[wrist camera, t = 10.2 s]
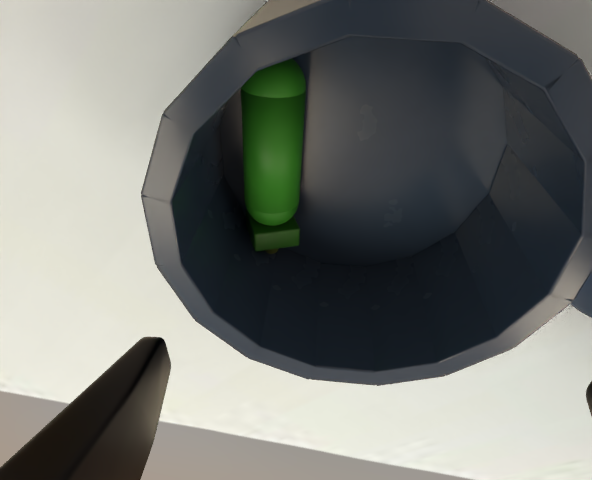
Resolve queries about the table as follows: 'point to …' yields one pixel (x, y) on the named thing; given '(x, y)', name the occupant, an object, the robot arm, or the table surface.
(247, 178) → the zucchini
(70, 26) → the table surface
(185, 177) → the pot
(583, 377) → the table surface
